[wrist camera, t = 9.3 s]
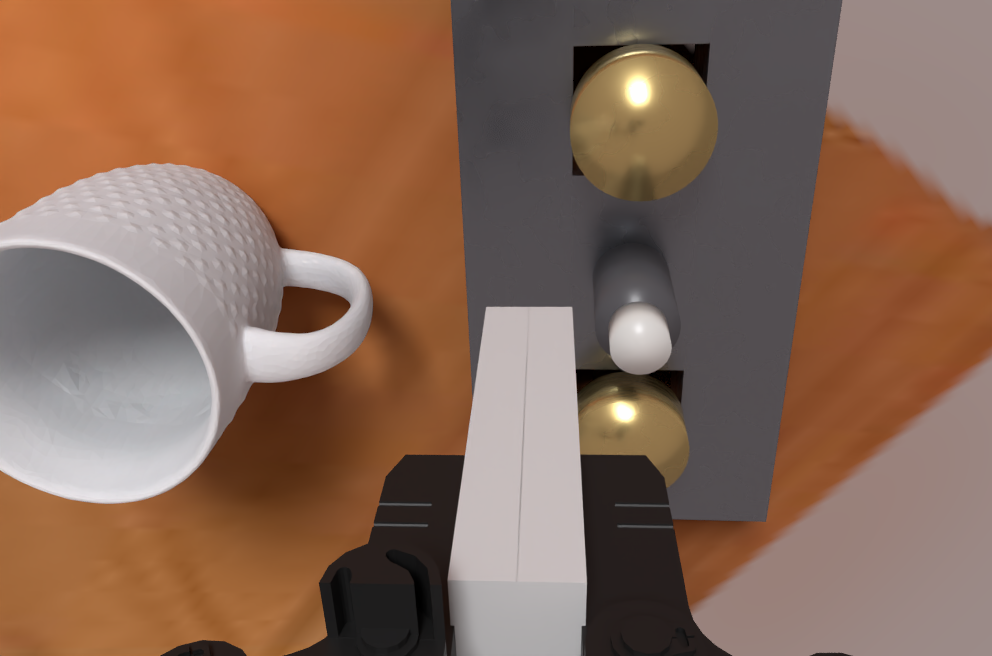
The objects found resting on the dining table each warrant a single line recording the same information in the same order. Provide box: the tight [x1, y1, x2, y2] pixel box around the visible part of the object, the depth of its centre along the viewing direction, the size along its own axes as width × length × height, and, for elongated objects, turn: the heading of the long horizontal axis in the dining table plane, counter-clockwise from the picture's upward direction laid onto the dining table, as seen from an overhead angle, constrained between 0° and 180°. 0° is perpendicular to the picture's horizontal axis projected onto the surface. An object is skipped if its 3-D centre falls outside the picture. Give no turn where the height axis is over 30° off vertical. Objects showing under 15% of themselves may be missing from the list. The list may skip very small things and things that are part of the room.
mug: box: [0, 163, 373, 504], centre depth 36 cm, size 15×11×13 cm
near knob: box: [570, 44, 718, 201], centre depth 33 cm, size 5×5×6 cm
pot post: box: [593, 243, 681, 375], centre depth 34 cm, size 3×3×6 cm
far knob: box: [577, 369, 689, 488], centre depth 40 cm, size 5×5×6 cm
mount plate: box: [451, 0, 842, 522], centre depth 38 cm, size 14×26×4 cm, turn 2°
